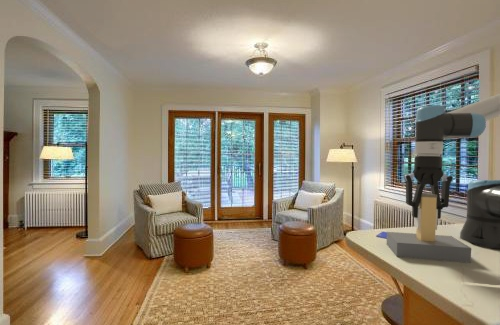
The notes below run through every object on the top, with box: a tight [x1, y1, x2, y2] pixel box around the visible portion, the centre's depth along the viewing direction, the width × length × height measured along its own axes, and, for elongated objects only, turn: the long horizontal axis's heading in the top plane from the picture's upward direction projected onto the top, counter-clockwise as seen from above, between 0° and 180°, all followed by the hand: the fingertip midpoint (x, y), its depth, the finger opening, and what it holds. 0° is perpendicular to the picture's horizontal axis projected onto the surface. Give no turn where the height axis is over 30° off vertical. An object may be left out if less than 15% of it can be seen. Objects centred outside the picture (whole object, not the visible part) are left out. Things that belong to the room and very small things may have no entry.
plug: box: [415, 192, 437, 242], centre depth 90 cm, size 4×4×15 cm
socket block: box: [386, 231, 472, 264], centre depth 91 cm, size 20×12×5 cm, turn 78°
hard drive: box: [375, 231, 388, 240], centre depth 106 cm, size 2×8×12 cm
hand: (425, 228), depth 90 cm, fingers closed on plug, 4 cm apart
